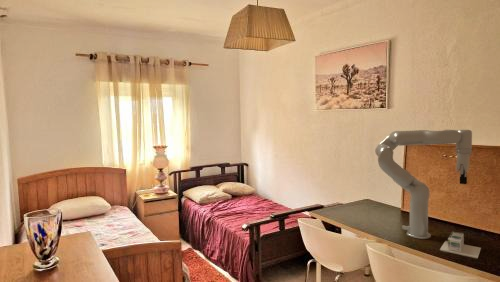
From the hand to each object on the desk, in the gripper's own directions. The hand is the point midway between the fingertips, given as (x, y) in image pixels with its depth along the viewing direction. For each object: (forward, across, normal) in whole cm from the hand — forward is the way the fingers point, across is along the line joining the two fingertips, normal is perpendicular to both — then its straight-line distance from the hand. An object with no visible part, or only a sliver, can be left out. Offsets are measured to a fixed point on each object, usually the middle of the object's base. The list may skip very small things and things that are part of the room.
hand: (463, 183), depth 180 cm
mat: (+31, +21, +2) cm, 38 cm away
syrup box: (+28, +12, 0) cm, 30 cm away
